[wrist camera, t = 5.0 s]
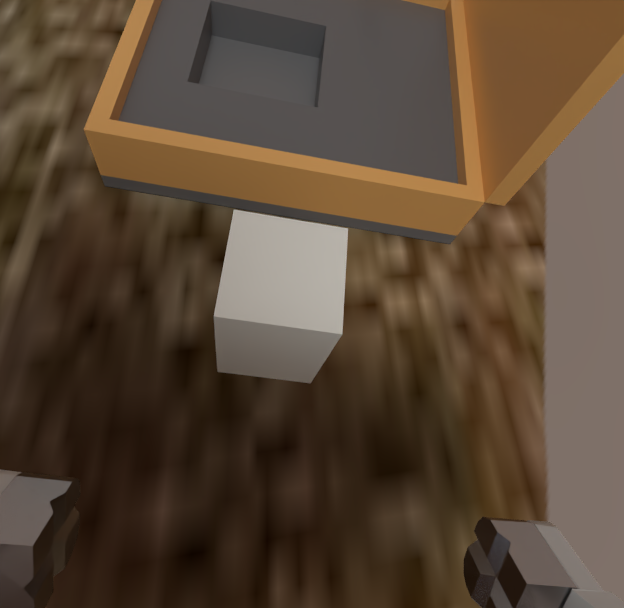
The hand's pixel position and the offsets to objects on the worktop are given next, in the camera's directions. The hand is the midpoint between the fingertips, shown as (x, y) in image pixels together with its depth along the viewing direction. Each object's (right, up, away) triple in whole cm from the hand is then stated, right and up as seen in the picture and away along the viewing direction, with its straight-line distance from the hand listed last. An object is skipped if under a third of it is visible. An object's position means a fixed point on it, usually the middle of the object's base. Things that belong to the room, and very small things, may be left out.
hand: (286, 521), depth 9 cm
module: (-2, +3, +16) cm, 16 cm away
